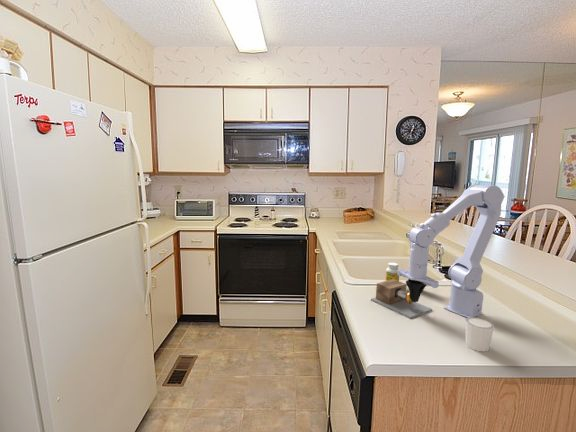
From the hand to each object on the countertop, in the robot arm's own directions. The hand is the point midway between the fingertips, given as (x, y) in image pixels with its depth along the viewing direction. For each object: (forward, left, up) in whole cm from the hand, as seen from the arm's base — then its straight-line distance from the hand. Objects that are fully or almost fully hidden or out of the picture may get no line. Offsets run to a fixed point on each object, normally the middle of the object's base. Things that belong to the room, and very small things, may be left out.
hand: (414, 301), depth 109 cm
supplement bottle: (+20, -13, -4) cm, 24 cm away
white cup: (-23, +4, -4) cm, 24 cm away
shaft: (+6, 0, -2) cm, 7 cm away
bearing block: (+10, 0, -4) cm, 11 cm away
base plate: (+6, 0, -4) cm, 7 cm away
